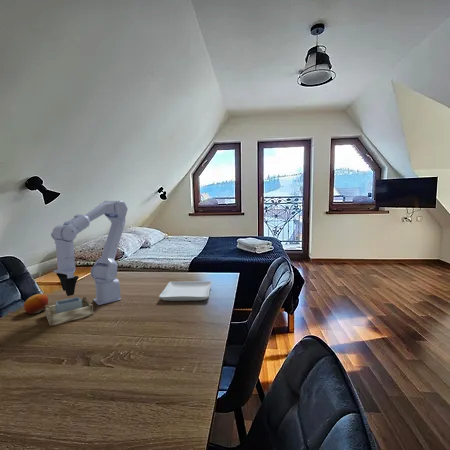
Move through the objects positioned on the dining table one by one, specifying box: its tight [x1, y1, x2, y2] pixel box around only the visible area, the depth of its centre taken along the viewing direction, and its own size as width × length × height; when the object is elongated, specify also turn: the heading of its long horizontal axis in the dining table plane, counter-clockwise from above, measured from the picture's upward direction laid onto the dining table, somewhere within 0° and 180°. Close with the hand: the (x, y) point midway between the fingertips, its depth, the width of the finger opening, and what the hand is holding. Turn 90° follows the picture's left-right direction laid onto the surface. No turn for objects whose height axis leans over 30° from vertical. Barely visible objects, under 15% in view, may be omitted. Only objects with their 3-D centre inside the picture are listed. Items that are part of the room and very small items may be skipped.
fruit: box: [23, 293, 49, 315], centre depth 108 cm, size 8×8×8 cm
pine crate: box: [45, 296, 94, 326], centre depth 104 cm, size 14×11×4 cm
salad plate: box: [158, 280, 213, 302], centre depth 125 cm, size 21×21×3 cm
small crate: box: [54, 296, 82, 314], centre depth 104 cm, size 8×5×5 cm
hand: (68, 292), depth 103 cm, fingers open, 7 cm apart
